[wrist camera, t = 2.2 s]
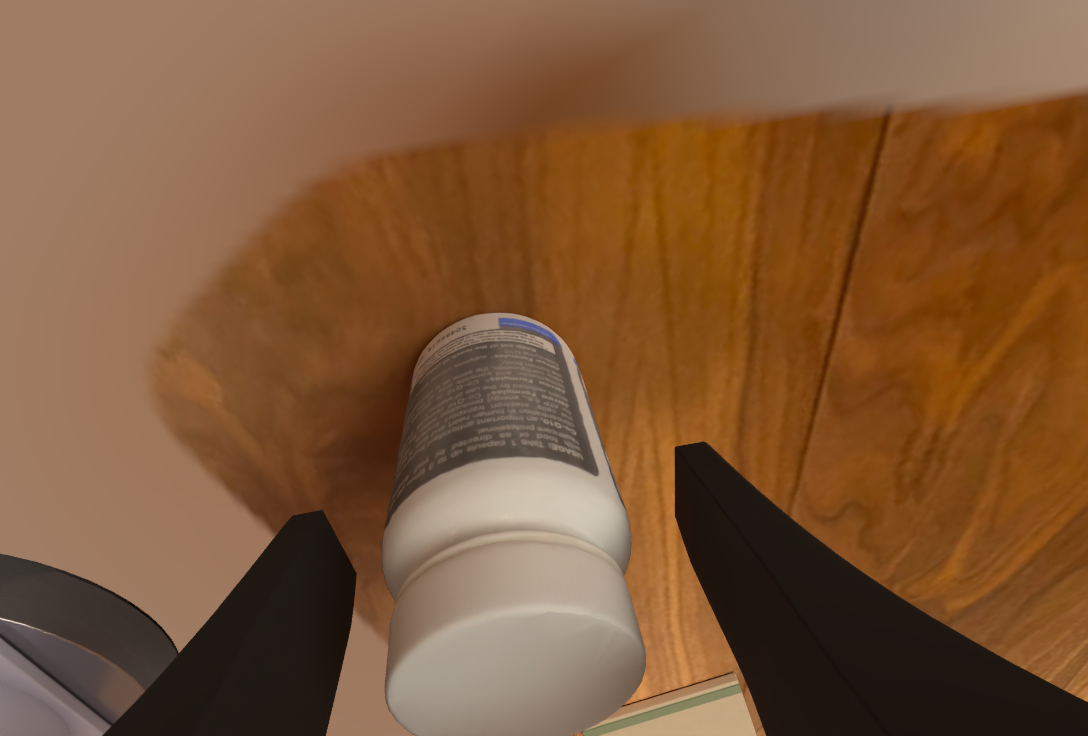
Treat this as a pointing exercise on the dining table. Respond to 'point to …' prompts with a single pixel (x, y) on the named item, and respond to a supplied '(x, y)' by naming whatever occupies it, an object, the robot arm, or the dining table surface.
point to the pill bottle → (506, 544)
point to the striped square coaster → (684, 713)
